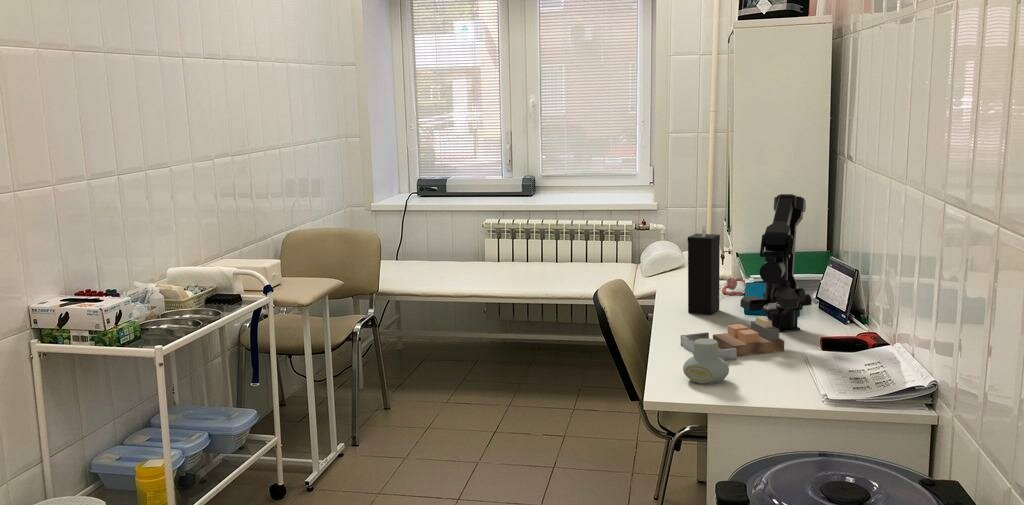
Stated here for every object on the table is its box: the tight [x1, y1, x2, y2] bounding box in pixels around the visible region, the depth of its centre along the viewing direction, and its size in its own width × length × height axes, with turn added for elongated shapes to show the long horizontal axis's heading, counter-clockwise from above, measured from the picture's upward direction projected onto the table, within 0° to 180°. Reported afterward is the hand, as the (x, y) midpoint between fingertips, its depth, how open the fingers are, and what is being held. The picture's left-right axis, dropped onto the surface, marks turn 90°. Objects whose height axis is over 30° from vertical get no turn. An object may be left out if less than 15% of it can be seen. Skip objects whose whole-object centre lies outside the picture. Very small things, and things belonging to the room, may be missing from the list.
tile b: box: [738, 328, 759, 344], centre depth 230 cm, size 4×4×2 cm
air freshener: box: [682, 338, 730, 386], centre depth 208 cm, size 11×8×10 cm
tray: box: [680, 332, 738, 362], centre depth 231 cm, size 8×17×3 cm, turn 13°
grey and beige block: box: [750, 315, 780, 341], centre depth 234 cm, size 3×10×5 cm, turn 13°
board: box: [712, 332, 785, 357], centre depth 234 cm, size 15×12×3 cm
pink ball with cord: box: [719, 276, 745, 296], centre depth 296 cm, size 21×9×25 cm
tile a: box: [727, 323, 749, 338], centre depth 236 cm, size 4×4×2 cm
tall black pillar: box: [687, 225, 721, 316], centre depth 272 cm, size 8×8×28 cm
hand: (775, 331), depth 235 cm, fingers closed
